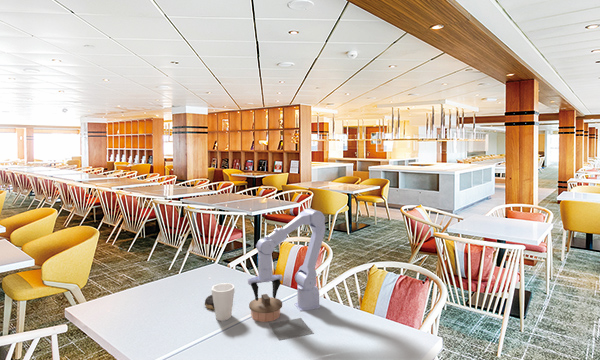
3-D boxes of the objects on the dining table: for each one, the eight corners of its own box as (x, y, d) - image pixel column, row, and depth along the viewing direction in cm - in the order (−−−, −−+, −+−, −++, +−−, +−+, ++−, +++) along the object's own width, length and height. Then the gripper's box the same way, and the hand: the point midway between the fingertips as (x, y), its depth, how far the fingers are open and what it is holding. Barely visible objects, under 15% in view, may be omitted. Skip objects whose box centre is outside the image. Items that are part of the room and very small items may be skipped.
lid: (276, 297, 167) (276, 288, 167) (286, 309, 154) (286, 300, 154) (245, 301, 162) (245, 292, 162) (253, 315, 149) (253, 305, 149)
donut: (232, 300, 176) (232, 292, 175) (225, 311, 164) (225, 302, 163) (209, 299, 177) (209, 291, 176) (200, 310, 165) (200, 301, 164)
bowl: (275, 307, 167) (275, 297, 166) (283, 319, 156) (283, 308, 155) (248, 312, 163) (248, 302, 162) (255, 324, 151) (255, 313, 151)
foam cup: (229, 323, 152) (228, 292, 151) (208, 321, 154) (207, 290, 153) (238, 313, 161) (237, 284, 160) (218, 311, 163) (217, 282, 162)
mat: (300, 318, 156) (300, 317, 156) (313, 334, 143) (313, 333, 143) (268, 324, 151) (268, 323, 151) (279, 341, 138) (279, 340, 138)
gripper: (250, 272, 151) (250, 304, 152) (284, 268, 156) (284, 299, 157) (246, 267, 157) (247, 298, 159) (279, 263, 163) (279, 293, 164)
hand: (265, 298), depth 158 cm, fingers open, 7 cm apart
